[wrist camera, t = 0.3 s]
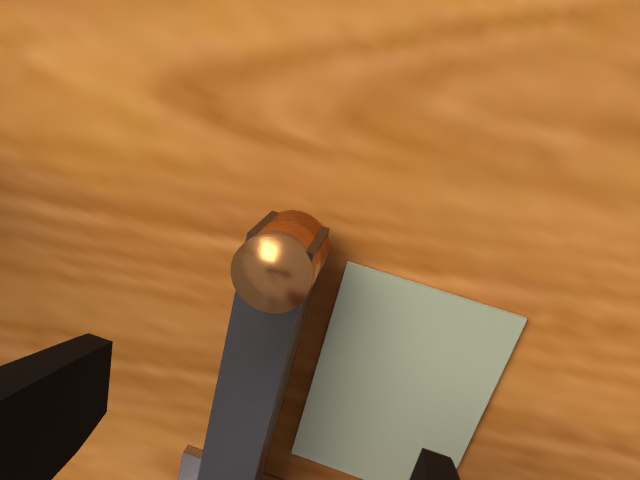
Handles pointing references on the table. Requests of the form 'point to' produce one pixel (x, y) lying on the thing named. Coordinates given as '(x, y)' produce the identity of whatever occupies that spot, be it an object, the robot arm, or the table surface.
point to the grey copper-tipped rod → (261, 341)
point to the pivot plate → (197, 465)
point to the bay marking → (401, 375)
